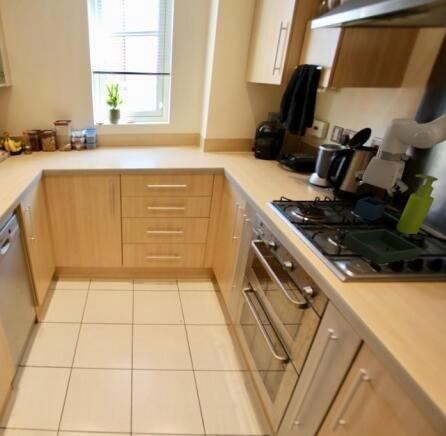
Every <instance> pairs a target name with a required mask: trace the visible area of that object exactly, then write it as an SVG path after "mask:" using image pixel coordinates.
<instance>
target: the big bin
mask: <svg viewBox="0 0 446 436" xmlns="http://www.w3.org/2000/svg"><path fill="white" fill-rule="evenodd" d="M343 243H344V244H345V245H346V247H347V248H348V249H350V250H351V251H353V252H355V253H357V254H360V255H362V256H363V257H365V258H367V259H368V260H371V261H374V262H375V263H378V264H385V263H389V262H395V261H400V260H411V259H417V260H418V259H419V257H420V255H421V253H422V251H423V248H422V247H419V246H418V245H416V244H414V243H412V242H410V241H408V240H407V239H404V238H403V237H401V236H399V235H397V234H396V233H393V232H391V231H390V230H388V229H386V228H380V229H372V230H364V231H356V232H348V233H345V236H344V238H343V241H342V244H343ZM368 245H371V246H372V245H377V246H381V247H382V252H383V253H381V254H380V253H379V252H377V251H376V250H374V249H372V248H371V247H369V246H368ZM386 247H389V250H388V251H386V250H385V248H386ZM347 248H346V249H347ZM348 249H347V250H348ZM350 250H349V251H350ZM351 251H350V252H351ZM353 252H352V253H353Z"/></svg>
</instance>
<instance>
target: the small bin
mask: <svg viewBox="0 0 446 436" xmlns="http://www.w3.org/2000/svg"><path fill="white" fill-rule="evenodd" d="M383 203H384V200H383V201H382V200H379V199H377V198H374V197H371V196H367V197H363V198H360V199H358V200H357V201H356V205H355V207H354V209H353V213H352V214H353V215H355V216H357V217H360V218H362V219H365V220H367V221H370V222H373V221H375V220H378V219H381V218H382V217H383V214H384V212H385V210H386V208H387V205H386V206H384V205H383Z"/></svg>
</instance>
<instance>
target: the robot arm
mask: <svg viewBox="0 0 446 436" xmlns="http://www.w3.org/2000/svg"><path fill="white" fill-rule="evenodd" d="M443 142H446V113H444V114H443V115H441V116H439V117H437V118H436V119H434V120H432V121H428V122H425V123H418V121H416V120H414V119H410V118H401V117H400V118H393V119H391V120H390V121H389V122H388V124H387V126H386V129H385V132H384V135H383V137H382V140H381V142H380V145H379V147H378V150H377V152H376V155H374V156H373V157H372V158H371V160H370V161H369V163H368V165H367V167H366V169H365V170H364V169H363V170H357V171H354V178H355V181H356V186H357V187H356V190H355V197H358V196H361V195H363V193H364V191H365V188H366V184H367V185H371V186H374V187H377V188H380V189H383V190H386V191H387V195H385V197H384V200H383V202H384V203H383V205H384V206H386V207H387V206H389V205H391V204H392V202H393V201H394V198H395V196H397V195H400V194H402V193H404V192H406V191H407V190H408V189H409V186H408V185H407V184H406V183H405V182H403V181H402V180H401V179H402V177H403V173H404V169H405V165H406V162H405V161H408V160H409V158H410V156H408V155H407V151H408V149H409V148H410V147H409V146H411V147H415V148H419V149H430V148H431V147H435V146H437V145H439V144H441V143H443ZM361 175H362V177H361ZM398 187H399V189H398V190H397V189H396V188H398Z"/></svg>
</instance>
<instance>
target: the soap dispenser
mask: <svg viewBox="0 0 446 436" xmlns="http://www.w3.org/2000/svg"><path fill="white" fill-rule="evenodd" d="M415 177H416V178H423V179H425V182H424V184H421V185H419V187H418V189H417V192H415V193H411V194H410V196H409V198H408V200H407V201H406V205H405V206H404V208H403V211H402V213H401V216H400V217H399V220H398V222H397V224H396V227H395V229H396V230H397V232H399V233H402V234H405V235H409V234H416V235H418V233H419V231H420V229H421V227H422V225H423V223H424V221H425V219H426V217H427V215H428V213H429V211H430V209H431V206H432V205H433V203H434V201H435V198H434V197H433V196H431V195H432V193H433V191H434V189H435V188H434V187H433V186H432V185H433V183H434V182H437V181H438V180H439V178H437V177H435V176H432V175H428V174H422V173H421V174H419V173H418V174H415Z"/></svg>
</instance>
